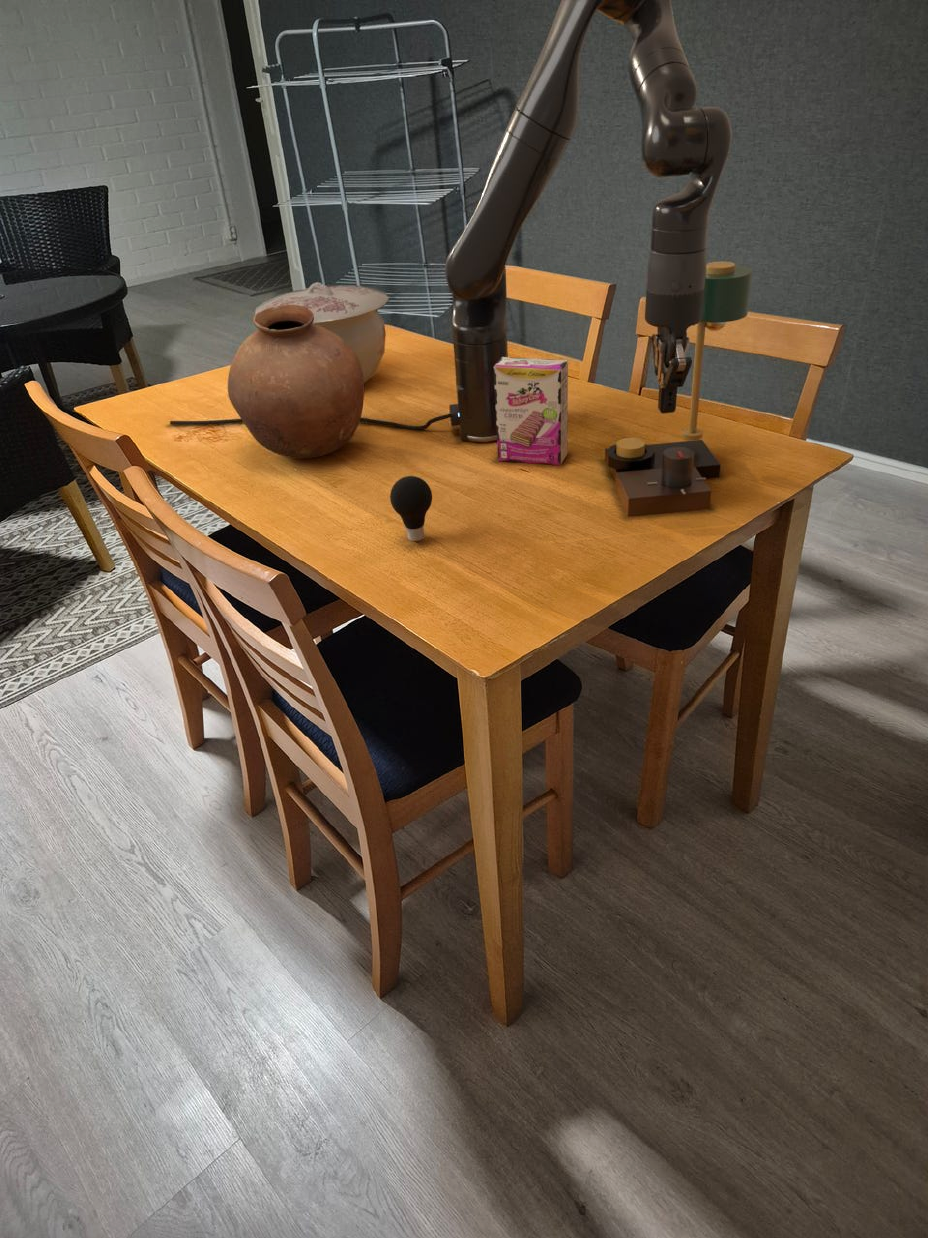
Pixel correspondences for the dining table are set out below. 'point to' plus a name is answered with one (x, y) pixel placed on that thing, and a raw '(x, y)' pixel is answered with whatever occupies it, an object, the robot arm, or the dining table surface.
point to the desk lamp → (717, 319)
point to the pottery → (296, 384)
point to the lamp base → (654, 459)
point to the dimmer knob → (677, 467)
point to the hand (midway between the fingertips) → (666, 410)
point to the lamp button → (630, 448)
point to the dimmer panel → (660, 493)
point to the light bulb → (412, 504)
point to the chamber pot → (345, 317)
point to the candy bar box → (531, 410)
